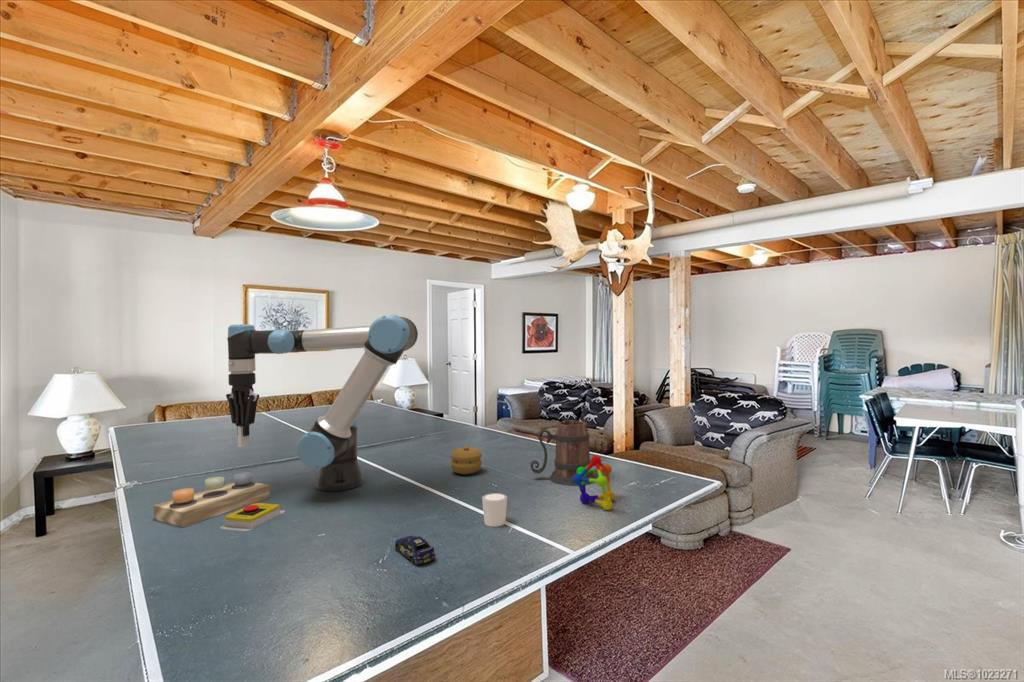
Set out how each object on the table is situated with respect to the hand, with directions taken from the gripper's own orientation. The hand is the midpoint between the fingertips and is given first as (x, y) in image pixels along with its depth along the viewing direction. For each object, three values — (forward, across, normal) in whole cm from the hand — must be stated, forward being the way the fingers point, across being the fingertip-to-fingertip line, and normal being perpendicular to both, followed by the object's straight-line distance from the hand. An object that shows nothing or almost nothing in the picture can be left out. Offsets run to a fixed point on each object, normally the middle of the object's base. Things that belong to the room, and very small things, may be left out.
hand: (243, 445), depth 150 cm
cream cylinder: (+17, +83, +13) cm, 86 cm away
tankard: (+18, +88, +58) cm, 107 cm away
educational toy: (+18, +105, +37) cm, 112 cm away
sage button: (+11, 0, -9) cm, 14 cm away
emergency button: (+18, +20, -11) cm, 29 cm away
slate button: (+12, 0, 0) cm, 12 cm away
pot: (+17, +52, +52) cm, 75 cm away
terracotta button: (+12, 0, -18) cm, 22 cm away
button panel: (+17, 0, -10) cm, 19 cm away
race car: (+18, +74, -11) cm, 77 cm away
